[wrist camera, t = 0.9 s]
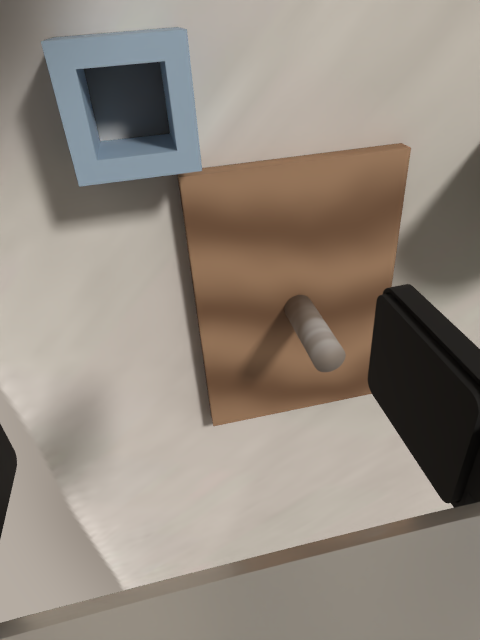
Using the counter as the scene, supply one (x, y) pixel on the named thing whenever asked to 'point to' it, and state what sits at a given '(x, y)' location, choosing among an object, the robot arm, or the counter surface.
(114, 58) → the collar
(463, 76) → the counter surface
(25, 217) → the counter surface
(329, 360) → the shaft stand
